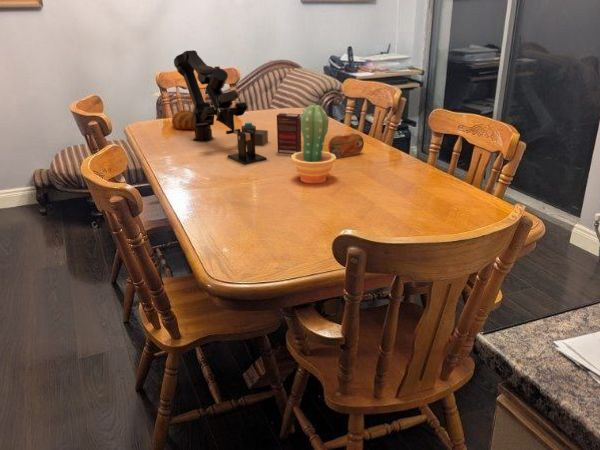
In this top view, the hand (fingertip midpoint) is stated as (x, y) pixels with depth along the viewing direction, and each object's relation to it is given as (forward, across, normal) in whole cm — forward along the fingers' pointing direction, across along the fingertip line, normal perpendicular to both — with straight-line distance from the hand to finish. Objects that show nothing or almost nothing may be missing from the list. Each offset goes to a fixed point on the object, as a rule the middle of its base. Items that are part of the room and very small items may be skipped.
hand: (233, 129), depth 205 cm
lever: (+5, 0, -2) cm, 5 cm away
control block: (+1, +15, +13) cm, 20 cm away
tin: (+28, +33, -13) cm, 45 cm away
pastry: (-34, +6, +42) cm, 55 cm away
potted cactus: (+37, +5, -23) cm, 44 cm away
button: (-5, +14, +10) cm, 18 cm away
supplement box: (+17, +17, -2) cm, 24 cm away
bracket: (+13, 0, +1) cm, 13 cm away
